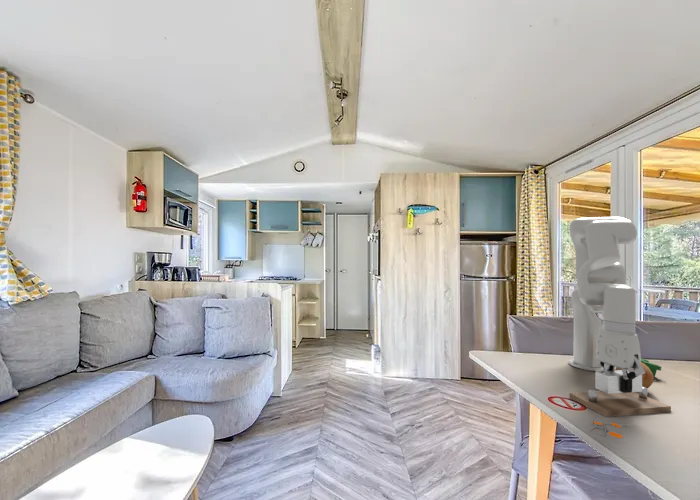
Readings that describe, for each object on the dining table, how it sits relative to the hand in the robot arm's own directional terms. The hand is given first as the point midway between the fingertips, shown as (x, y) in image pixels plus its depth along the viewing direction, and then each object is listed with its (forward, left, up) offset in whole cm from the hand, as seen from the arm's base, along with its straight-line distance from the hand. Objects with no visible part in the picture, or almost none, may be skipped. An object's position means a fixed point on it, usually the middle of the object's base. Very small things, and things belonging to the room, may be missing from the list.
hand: (618, 388), depth 98 cm
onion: (-17, -9, -5) cm, 20 cm away
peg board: (0, 0, -5) cm, 5 cm away
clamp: (-36, -21, -5) cm, 43 cm away
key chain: (+16, +11, -5) cm, 20 cm away
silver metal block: (0, 0, 0) cm, 0 cm away
